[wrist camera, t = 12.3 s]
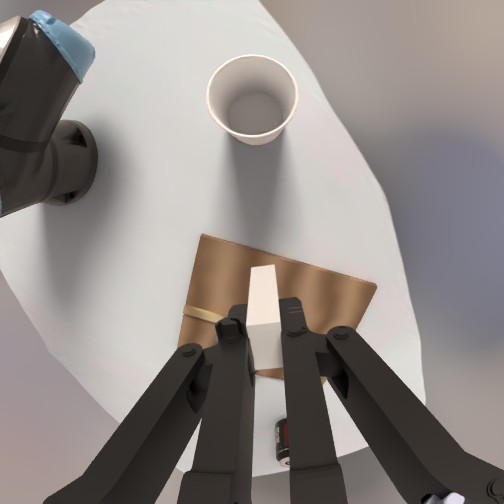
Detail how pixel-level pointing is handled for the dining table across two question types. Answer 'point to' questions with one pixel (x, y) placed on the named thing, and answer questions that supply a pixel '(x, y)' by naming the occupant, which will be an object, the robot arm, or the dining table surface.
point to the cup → (252, 98)
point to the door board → (289, 285)
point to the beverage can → (282, 443)
